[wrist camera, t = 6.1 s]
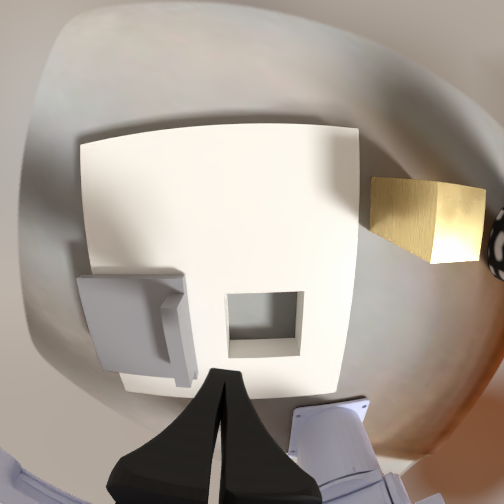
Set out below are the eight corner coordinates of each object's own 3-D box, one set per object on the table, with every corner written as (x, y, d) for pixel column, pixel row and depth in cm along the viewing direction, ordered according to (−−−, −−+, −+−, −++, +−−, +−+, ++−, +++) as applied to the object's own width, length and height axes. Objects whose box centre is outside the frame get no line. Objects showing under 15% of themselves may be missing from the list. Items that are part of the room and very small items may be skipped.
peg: (411, 230, 19) (478, 260, 12) (369, 230, 19) (430, 263, 12) (414, 180, 18) (485, 189, 11) (370, 176, 18) (437, 181, 10)
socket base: (328, 374, 23) (335, 392, 20) (134, 374, 22) (125, 391, 20) (345, 133, 17) (358, 128, 15) (97, 147, 17) (80, 144, 15)
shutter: (198, 372, 19) (193, 397, 17) (106, 364, 19) (93, 385, 16) (185, 274, 17) (174, 291, 14) (81, 274, 17) (60, 288, 14)
